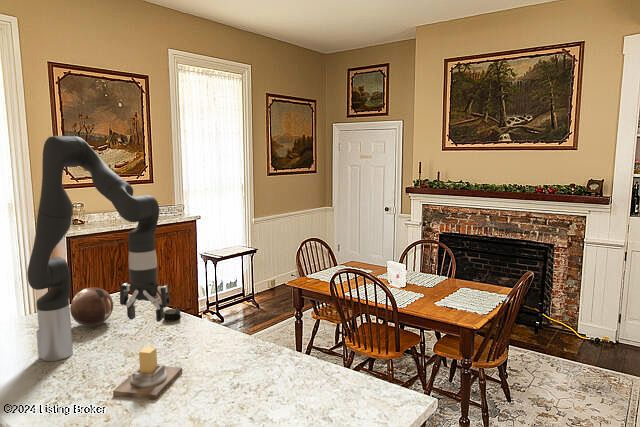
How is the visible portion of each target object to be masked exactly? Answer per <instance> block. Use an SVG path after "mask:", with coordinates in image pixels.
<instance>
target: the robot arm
mask: <svg viewBox="0 0 640 427" xmlns="http://www.w3.org/2000/svg"><path fill="white" fill-rule="evenodd" d="M41 164H42V168H41V169H42V172H41V173H42V174H41V176H42V178H41V190H40V198H39V205H38V210H37V216H36V217H37V218H36V229H35V236H34V243H33V245H32V250H31V255H30V258H29V263H28V267H27V276H26V277H27V282H28V285H29V286H30V288H32V289H33V290H36V291H38V290H45V289H48V290H47V292H46V293H44V294H43V295H41V296H40V297H39V298H38V299H37V300H36V312H37V313H36V315H37V322H38V329H37V330H36V333H35V334H36V345H37V352H38V353H37V355H38V359H40V360H42V361H44V362H58V361H62V360H64V359H66V358H68V357H70V356H72V355H73V354H74V350H73V349H74V348H73V347H74V346H73V336H72V325H71V324H72V323H71V311H70V297H71V288H70V287H71V286H70V284H71V279H70V278H71V276H70V275H71V274H70V273H71V272H70V267H69V264H68V262H67V261H66V259H64V258H63V257H60V256H56V257H51V255H52V253H53V252H54V250H55V248H56V247H57V246H58V244H59V243H60V242H61V240H63V239H64V237H65V236H66V234H67V233H68V231H69V230H70V227H71V224H72V219H73V211H74V206H73V203H72V200H71V199H70V198H71V197H69V195H68V193H67V191H66V189H65V187H64V185H63V184H64V183H63V175H64V174H63V173H64V169H65V168H73V167H80V168H82V169H84V170H86V171H87V172H88V173H90V175H91V180H92V181H91V182H92V184H93V186H94V188H95V189H96V190H97V192H99V193H100V194H101V195H102V196H103V197H104V198H106V199H107V200H108V201H109V202H111V204H112V206H113V207H114V209H115V210H116V211H117V214H118V215H119V216H120V217H121V218H122V219H123V220H125V221H126V222H130V223H137V222H138V223H137V225H136V227H135V228H134V229H131V230H130V231H129V233H128V235H127V241H128V242H127V243H128V272H129V274H128V275H129V276H128V278H129V282H130V284H129V283H128V282H125V283H122V284H120V286H119V304H120V305H121V306H125V307H126V311H127V312H126V314H127V315H126V316H127V318H128V320H132V321H133V320H134V319H135V318H136V305H135V303H136V302H137V301H144V302H150V303H151V304H152V305H153V306H154V307H155V308H156V309H155V315H156V316H155V317H156V318H155V320H156V322H158V323H159V322H161V321H163V320H164V311H165V308H167V307H168V306H170V305H171V299H170V290H169V286H168V284H166V285H163V286H160V285H158V280H159V278H158V277H159V276H158V259H157V258H158V257H157V252H156V238H155V234H156V231H157V226H158V221H159V219H160V218H159V217H160V205H159V203H158V201H157V199H156V198H155V197H154V196H153V195H149V194H144V195H143V194H142V195H136V196H133V195H134V188H133V186H132V185H131V184H130V183H129V182H127V181H126V180H125V179H123V178H122V177H121V176H120V175H118V174H117V173H116V172H115V171H114V170H113V169H111V168H110V166H108V165H107V163H105V161H103V158H101V157H100V156H99V155H98V153H97V152H96V151H95V150H94V149H93V147H92V146H90V145H89V143H88V142H86V140H84V139H83V138H82V137H80V136H77V135H52V136H49V137H48V138H46V140H45V141H44V144H43V148H42V163H41ZM129 291H130V292H131V293H132V294H131V296H129V295H130V294H129ZM158 292H159V293H158Z"/></svg>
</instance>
